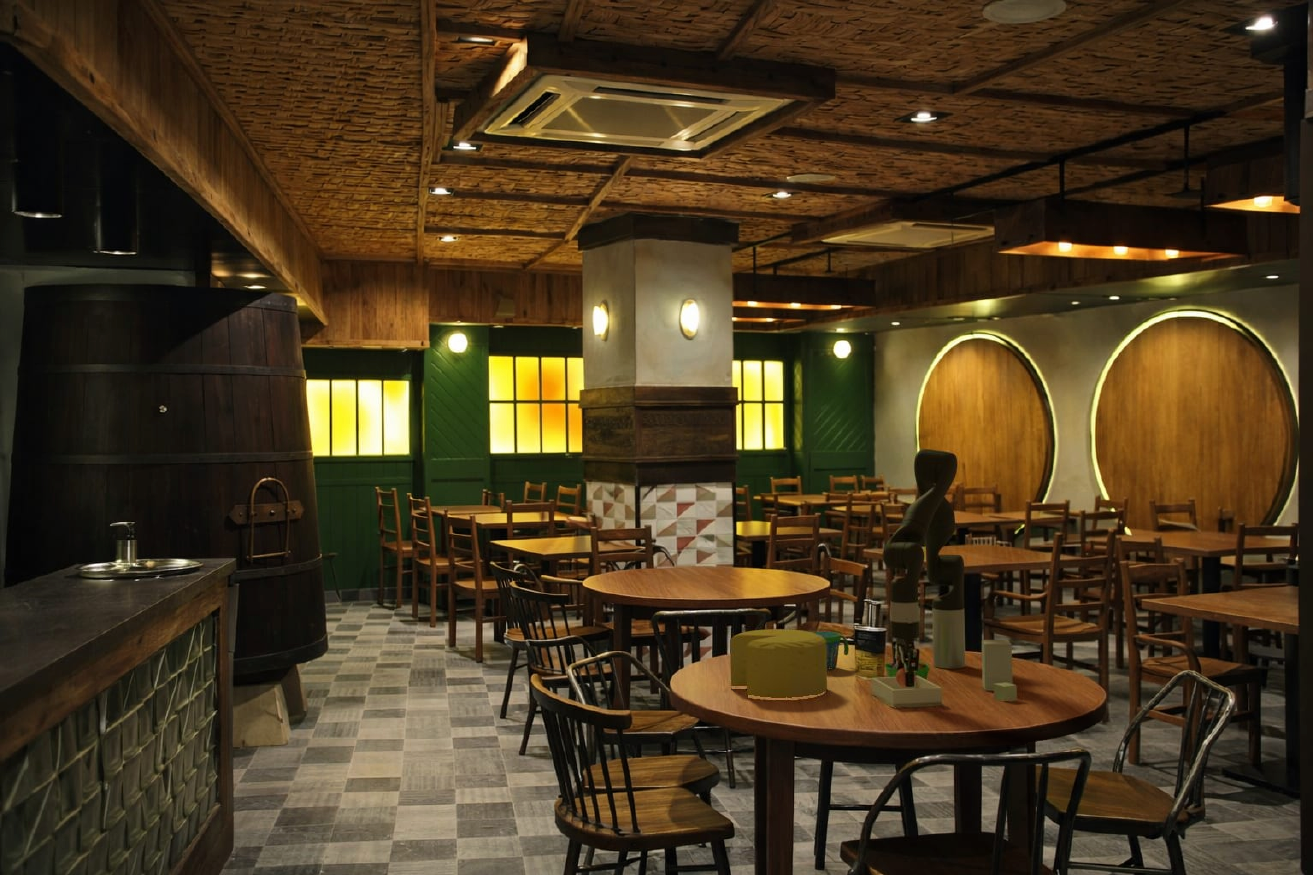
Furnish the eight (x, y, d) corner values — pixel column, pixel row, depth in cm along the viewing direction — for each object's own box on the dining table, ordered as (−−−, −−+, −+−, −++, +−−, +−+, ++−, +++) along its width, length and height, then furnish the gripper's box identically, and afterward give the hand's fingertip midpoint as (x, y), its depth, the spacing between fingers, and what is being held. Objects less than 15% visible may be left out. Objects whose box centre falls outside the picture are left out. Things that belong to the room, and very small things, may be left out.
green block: (994, 699, 294) (993, 683, 294) (1006, 697, 296) (1006, 682, 296) (1004, 702, 290) (1004, 686, 290) (1016, 700, 292) (1016, 685, 292)
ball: (893, 685, 296) (892, 666, 296) (911, 684, 297) (911, 665, 297) (900, 689, 291) (899, 669, 291) (918, 688, 292) (918, 668, 292)
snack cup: (803, 672, 332) (802, 637, 332) (793, 666, 342) (792, 632, 342) (854, 670, 334) (853, 635, 334) (843, 663, 345) (842, 630, 345)
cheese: (715, 696, 303) (714, 640, 303) (753, 677, 326) (752, 625, 326) (807, 704, 291) (806, 646, 291) (840, 685, 314) (839, 631, 314)
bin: (871, 694, 301) (871, 677, 301) (918, 692, 303) (917, 675, 303) (893, 708, 285) (892, 690, 285) (942, 705, 287) (941, 687, 287)
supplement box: (1013, 691, 302) (1012, 644, 302) (984, 690, 303) (983, 643, 304) (1010, 685, 309) (1009, 639, 309) (982, 685, 311) (981, 639, 311)
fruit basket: (888, 686, 311) (888, 645, 311) (883, 680, 320) (883, 640, 320) (930, 686, 310) (930, 645, 310) (924, 679, 319) (923, 639, 319)
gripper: (881, 615, 301) (882, 679, 301) (900, 623, 287) (902, 690, 286) (908, 614, 302) (909, 678, 302) (929, 622, 288) (930, 689, 288)
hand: (905, 684), depth 294 cm, fingers closed on ball, 5 cm apart
